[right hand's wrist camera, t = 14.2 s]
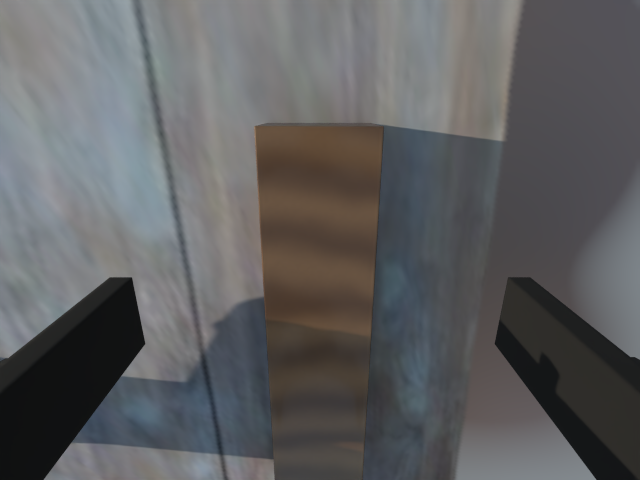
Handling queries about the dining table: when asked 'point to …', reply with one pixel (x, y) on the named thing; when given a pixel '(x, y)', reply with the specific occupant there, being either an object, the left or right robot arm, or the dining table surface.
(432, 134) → the dining table surface
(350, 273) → the thick board
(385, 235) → the dining table surface
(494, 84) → the dining table surface
